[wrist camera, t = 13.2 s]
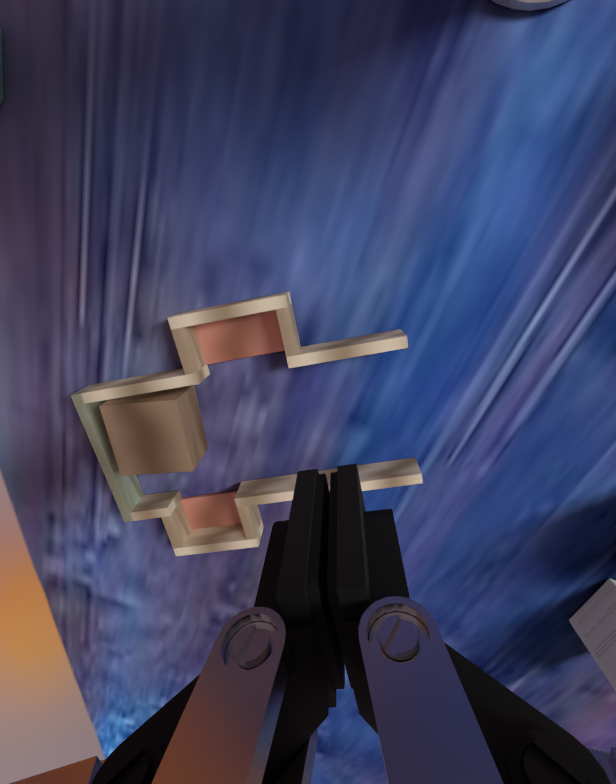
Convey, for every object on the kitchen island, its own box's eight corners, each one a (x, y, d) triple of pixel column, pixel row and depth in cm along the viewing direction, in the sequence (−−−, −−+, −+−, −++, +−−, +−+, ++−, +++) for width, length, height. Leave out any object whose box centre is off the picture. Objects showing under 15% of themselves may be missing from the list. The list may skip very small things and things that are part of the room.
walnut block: (194, 383, 36) (176, 399, 32) (208, 447, 38) (193, 471, 34) (125, 388, 37) (99, 406, 32) (143, 451, 39) (120, 475, 35)
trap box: (393, 270, 31) (399, 271, 28) (420, 507, 39) (427, 526, 36) (70, 334, 35) (47, 341, 32) (153, 540, 42) (140, 560, 40)
